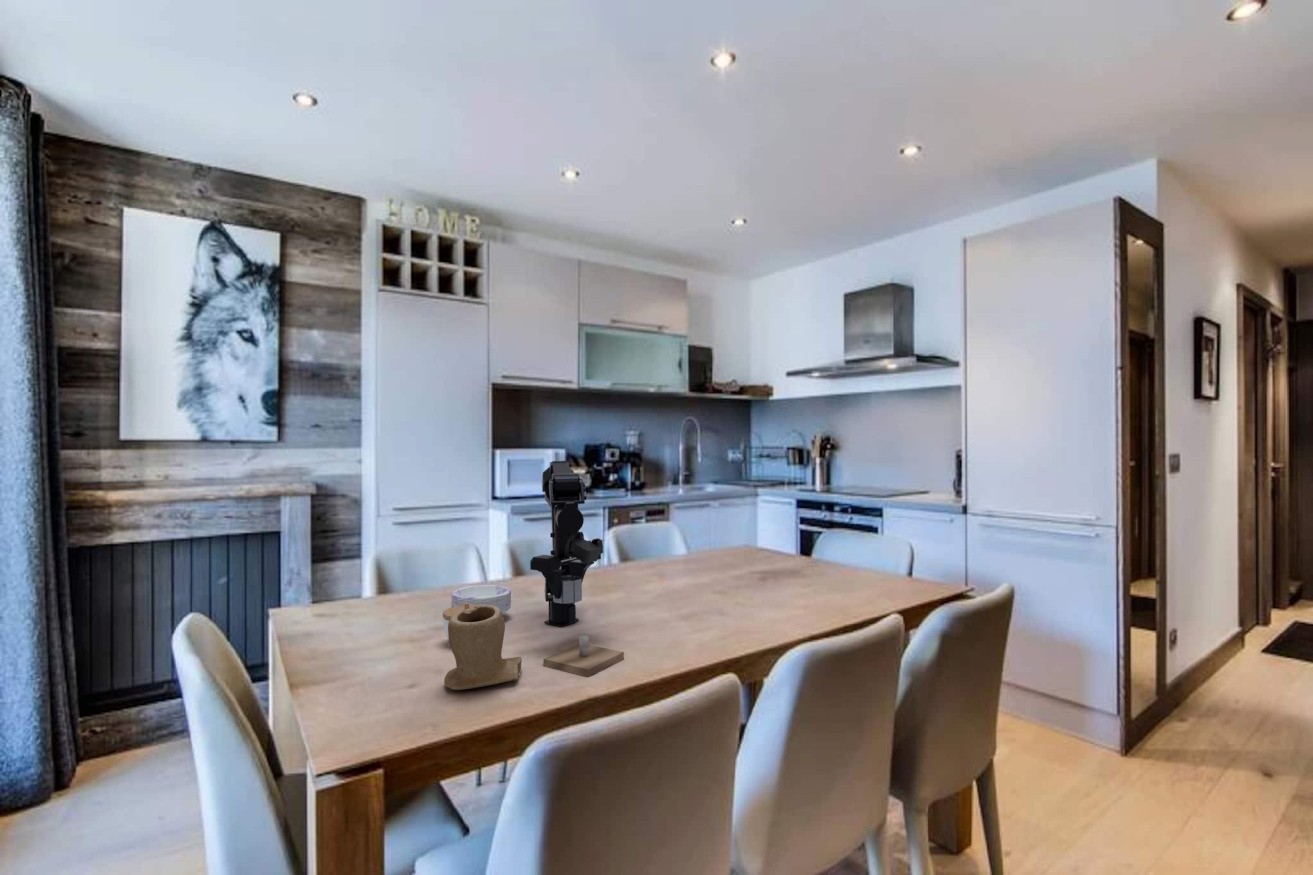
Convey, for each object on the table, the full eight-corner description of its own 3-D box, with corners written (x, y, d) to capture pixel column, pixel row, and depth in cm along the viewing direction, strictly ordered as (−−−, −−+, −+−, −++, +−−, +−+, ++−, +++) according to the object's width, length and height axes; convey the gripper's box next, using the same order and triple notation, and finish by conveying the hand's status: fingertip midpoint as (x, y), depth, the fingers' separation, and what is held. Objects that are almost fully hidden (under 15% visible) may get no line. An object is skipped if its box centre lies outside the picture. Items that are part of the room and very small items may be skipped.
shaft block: (543, 665, 131) (543, 639, 131) (580, 649, 141) (580, 625, 141) (588, 677, 124) (587, 649, 124) (623, 658, 135) (623, 633, 135)
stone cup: (445, 701, 114) (444, 618, 114) (443, 678, 125) (443, 603, 125) (529, 689, 119) (528, 610, 119) (521, 668, 130) (520, 596, 130)
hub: (547, 601, 144) (547, 579, 144) (566, 595, 150) (566, 574, 150) (568, 604, 141) (568, 582, 141) (587, 598, 146) (586, 577, 146)
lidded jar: (499, 638, 150) (499, 599, 150) (472, 652, 140) (472, 610, 140) (462, 634, 154) (461, 596, 154) (433, 648, 143) (432, 607, 144)
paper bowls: (523, 617, 168) (523, 587, 168) (479, 632, 155) (479, 600, 155) (483, 609, 176) (483, 581, 176) (439, 623, 164) (438, 592, 164)
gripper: (566, 535, 133) (567, 609, 133) (618, 525, 149) (619, 591, 149) (528, 532, 139) (528, 602, 139) (582, 522, 155) (583, 586, 155)
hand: (567, 595), depth 145 cm, fingers closed on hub, 6 cm apart
